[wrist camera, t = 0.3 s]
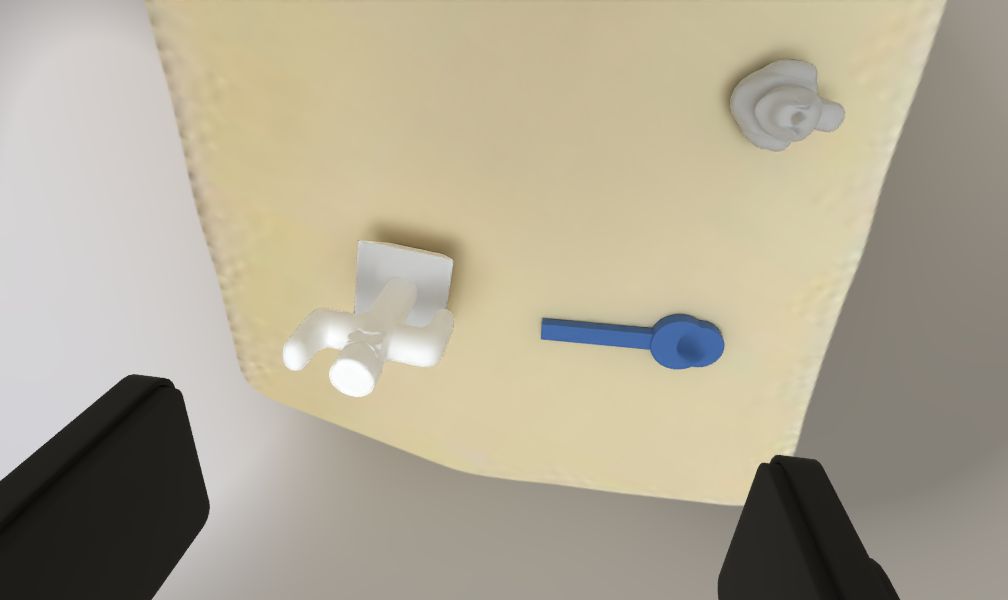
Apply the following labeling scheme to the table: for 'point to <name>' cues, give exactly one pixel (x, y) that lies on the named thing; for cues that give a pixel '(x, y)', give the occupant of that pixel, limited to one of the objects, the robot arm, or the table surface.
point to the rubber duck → (782, 105)
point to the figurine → (381, 318)
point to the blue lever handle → (648, 338)
